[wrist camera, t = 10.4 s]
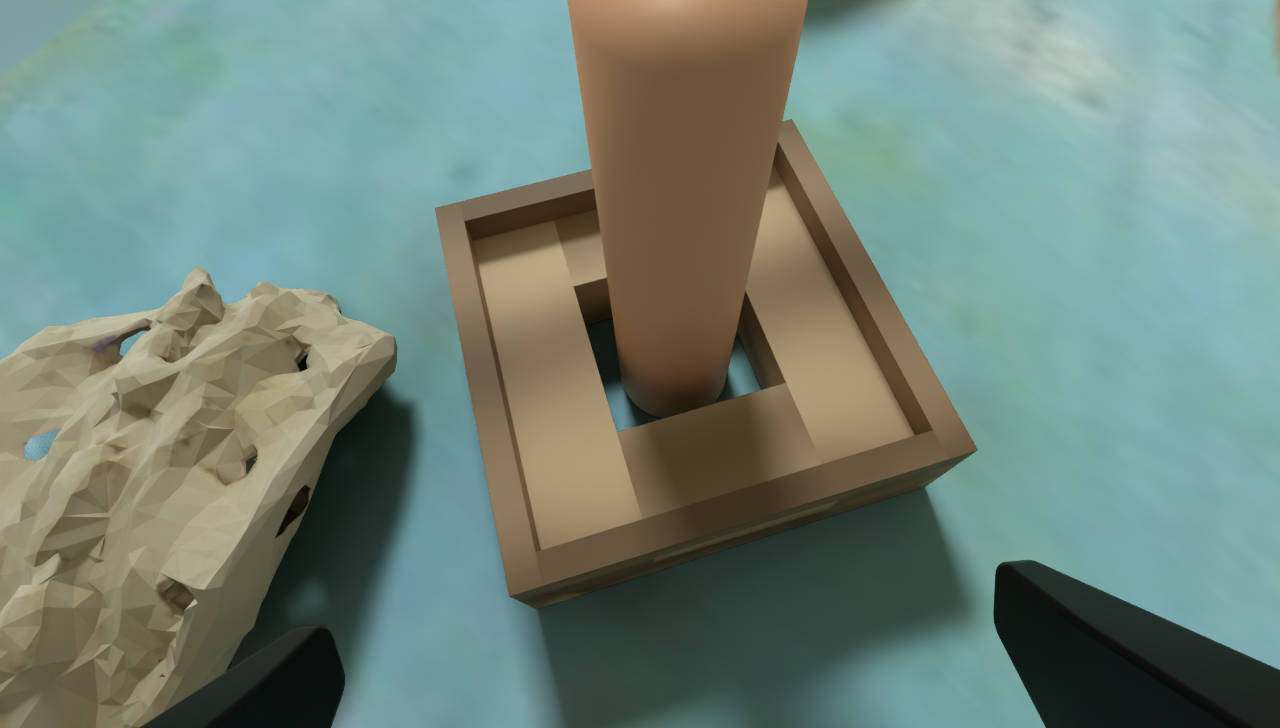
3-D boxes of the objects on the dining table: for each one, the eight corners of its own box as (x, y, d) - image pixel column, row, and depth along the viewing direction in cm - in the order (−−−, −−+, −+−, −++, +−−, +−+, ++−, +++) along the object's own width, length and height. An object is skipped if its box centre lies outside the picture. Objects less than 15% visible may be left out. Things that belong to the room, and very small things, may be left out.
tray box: (925, 486, 19) (977, 449, 16) (536, 609, 18) (509, 596, 15) (775, 191, 24) (791, 119, 21) (466, 271, 23) (434, 207, 20)
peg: (748, 380, 21) (860, 0, 9) (662, 440, 20) (662, 110, 8) (683, 307, 22) (707, -108, 10) (600, 360, 21) (523, -24, 9)
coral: (93, 912, 15) (-160, 1012, 10) (-153, 618, 18) (-427, 596, 14) (492, 412, 21) (442, 334, 16) (247, 256, 24) (146, 155, 19)
